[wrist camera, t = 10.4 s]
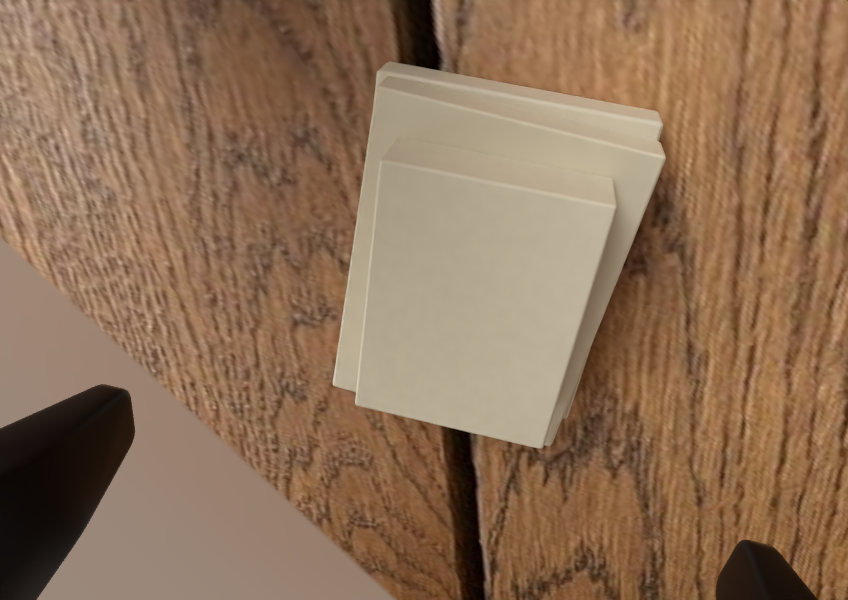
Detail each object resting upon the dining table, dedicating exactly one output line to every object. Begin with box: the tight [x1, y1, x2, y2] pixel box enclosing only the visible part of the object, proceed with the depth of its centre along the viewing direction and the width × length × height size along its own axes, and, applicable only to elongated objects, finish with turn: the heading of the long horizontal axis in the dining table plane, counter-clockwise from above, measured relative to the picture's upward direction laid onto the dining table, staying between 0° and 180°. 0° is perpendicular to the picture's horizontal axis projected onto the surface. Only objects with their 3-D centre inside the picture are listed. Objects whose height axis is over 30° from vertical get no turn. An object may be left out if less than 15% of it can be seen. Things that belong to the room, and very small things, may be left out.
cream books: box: [333, 62, 666, 446], centre depth 16 cm, size 8×6×2 cm
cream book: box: [355, 137, 617, 449], centre depth 14 cm, size 6×4×2 cm
